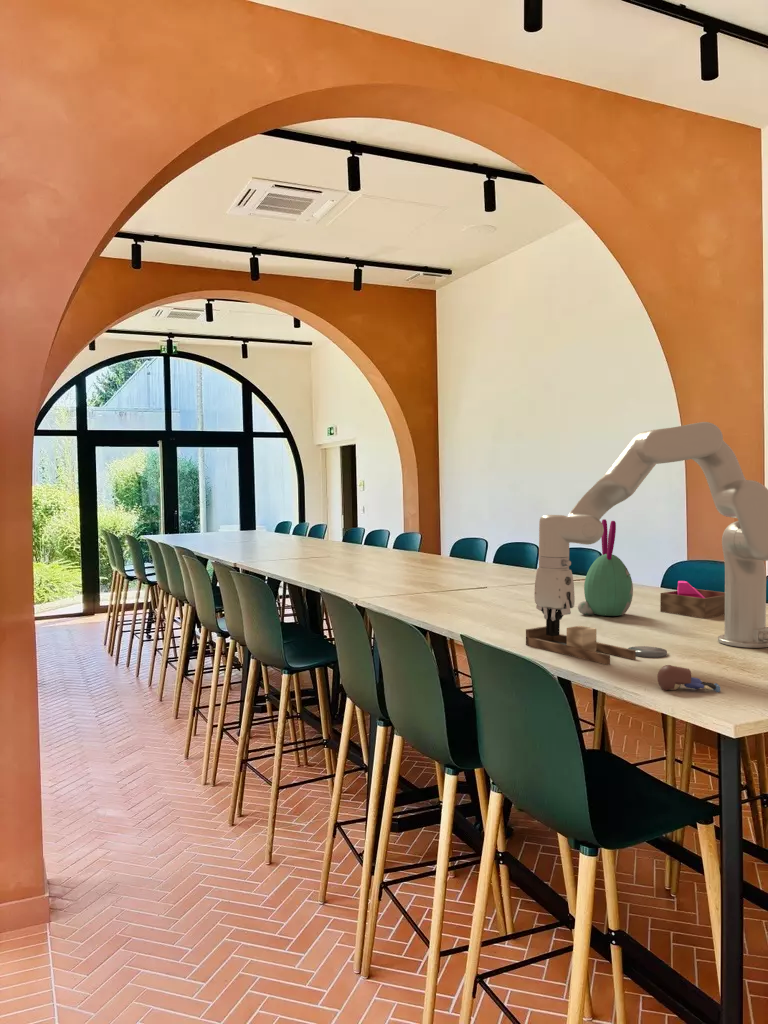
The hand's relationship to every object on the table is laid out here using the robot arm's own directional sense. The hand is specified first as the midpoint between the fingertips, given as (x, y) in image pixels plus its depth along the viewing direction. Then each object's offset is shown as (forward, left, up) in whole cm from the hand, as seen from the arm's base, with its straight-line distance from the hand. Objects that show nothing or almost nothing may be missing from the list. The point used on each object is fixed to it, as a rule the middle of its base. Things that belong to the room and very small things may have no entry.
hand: (552, 635), depth 188 cm
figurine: (-44, +8, -3) cm, 45 cm away
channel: (-8, 0, -3) cm, 9 cm away
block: (-9, 0, -3) cm, 10 cm away
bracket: (+9, -76, -4) cm, 76 cm away
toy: (+23, -47, -3) cm, 53 cm away
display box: (+9, -75, -3) cm, 76 cm away
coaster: (-19, -12, -3) cm, 23 cm away
